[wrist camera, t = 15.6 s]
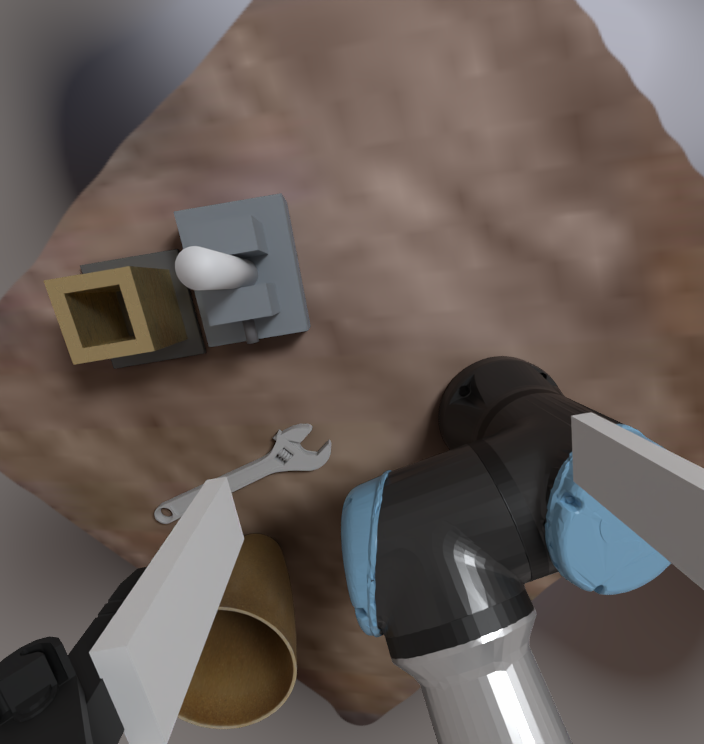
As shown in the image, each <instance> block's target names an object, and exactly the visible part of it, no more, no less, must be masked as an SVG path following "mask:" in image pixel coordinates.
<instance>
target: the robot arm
mask: <svg viewBox="0 0 704 744" xmlns="http://www.w3.org/2000/svg"><path fill="white" fill-rule="evenodd" d="M438 420H439V428H440V432H441V435H442V437H443V439H444V441H445V443H446V445H447V446H448V448H449V449H450V450H449V451H446V452H444V453H441V454H438V455H435V456H433V457H430V458H427V459H425V460H422V461H419V462H416V463H414V464H411V465H408V466H405V467H403V468H400V469H397V470H394V471H391V470H388V471H385V472H384V473H383V474H382V475H381V476H379V477H377V478H374V479H372V480H370V481H367V482H365V483H363V484H360V485H358V486H356V487H355V488H353V489H352V490H351V491H350V492H349V494H348V495H347V497H346V499H345V502H344V505H343V510H342V517H341V542H342V554H343V562H344V569H345V575H346V581H347V586H348V591H349V595H350V599H351V602H352V605H353V606H354V607H355V613H356V618H357V620H358V623H359V625H360V627H361V629H362V630H363V631H364V632H365V633H366V634H367V635H372V636H375V637H380V636H382V635H383V634H384V636H385V638H386V642H387V645H388V649H389V652H390V656H391V659H392V662H393V663H394V664H395V665H396V666H398V667H399V668H401V669H402V670H404V671H405V672H407V673H408V674H410V675H411V676H413V677H414V678H415V679H416V680H417V682H418V683H419V684H420V686H421V689H422V693H423V696H424V699H425V702H426V706H427V709H428V712H429V716H430V719H431V722H432V726H433V729H434V732H435V735H436V739H437V742H438V744H573V743H572V741H571V739H570V737H569V734H568V732H567V730H566V727H565V725H564V723H563V721H562V719H561V716H560V714H559V712H558V710H557V708H556V705H555V703H554V701H553V698H552V696H551V694H550V692H549V689H548V687H547V685H546V683H545V680H544V678H543V676H542V674H541V671H540V669H539V667H538V665H537V663H536V660H535V658H534V656H533V654H532V651H531V649H530V647H529V637H530V634H531V630H532V627H533V624H534V620H535V617H536V611H535V609H534V606H533V604H532V602H531V600H530V598H529V596H528V594H527V591H526V589H525V586H524V584H525V583H527V582H531V581H533V580H536V579H539V578H542V577H545V576H548V575H551V574H553V573H556V572H559V573H560V574H561V576H563V577H565V579H566V580H569V581H570V582H571V583H573V584H575V585H576V586H578V587H580V588H581V589H583V590H586V591H593V590H594V591H595V592H597V593H598V594H604V595H612V594H619V593H624V592H628V591H631V590H634V589H636V588H638V587H641V586H643V585H644V584H646V583H648V582H650V581H651V580H652V579H654V578H655V577H656V576H658V575H659V574H660V573H661V572H663V571H664V570H665V569H666V568H667V567H668V566H669V565H670V564H671V563H672V564H673V565H675V566H676V567H677V568H678V569H679V570H680V571H682V572H683V573H684V574H685V575H686V576H688V577H689V578H690V579H691V580H692V581H694V582H695V583H696V584H697V585H698V586H700V587H701V588H702V589H703V590H704V468H702V467H700V466H698V465H696V464H694V463H692V462H690V461H688V460H686V459H684V458H682V457H680V456H678V455H676V454H674V453H672V452H670V451H668V450H666V449H665V448H663V447H662V446H660V445H658V444H656V443H655V442H653V441H651V440H650V439H648V438H646V437H645V436H644V435H643V434H642V433H641V432H640V431H638V430H637V429H634V428H632V427H631V426H627V425H625V424H622V423H620V422H618V421H616V420H614V419H612V418H609V417H607V416H605V415H603V414H601V413H599V412H597V411H594V410H592V409H590V408H588V407H586V406H584V405H582V404H579V403H577V402H575V401H573V400H571V399H569V398H567V397H565V396H564V395H563V393H562V392H561V391H560V389H559V388H558V386H557V385H556V383H555V382H554V381H553V379H552V378H551V377H550V376H549V375H548V374H547V373H546V372H544V371H543V370H542V369H540V368H539V367H537V366H535V365H533V364H531V363H529V362H526V361H524V360H521V359H518V358H514V357H507V356H498V357H491V358H486V359H483V360H480V361H478V362H475V363H473V364H472V365H470V366H468V367H467V368H465V369H464V370H462V371H461V372H460V373H459V374H458V375H457V376H456V377H455V378H454V379H453V380H452V381H451V383H450V384H449V386H448V387H447V389H446V390H445V392H444V395H443V397H442V400H441V403H440V407H439V415H438ZM243 541H244V536H243V533H242V529H241V525H240V522H239V518H238V515H237V511H236V508H235V504H234V501H233V497H232V494H231V490H230V487H229V483H228V480H227V477H221V478H216V479H210V480H206V482H205V483H204V485H203V486H202V488H201V489H200V491H199V492H198V494H197V495H196V496H195V498H194V499H193V501H192V502H191V504H190V505H189V507H188V508H187V510H186V511H185V513H184V514H183V516H182V517H181V518H180V520H179V521H178V523H177V524H176V526H175V527H174V529H173V530H172V532H171V533H170V535H169V536H168V537H167V539H166V540H165V542H164V543H163V545H162V546H161V548H160V549H159V551H158V552H157V554H156V555H155V556H154V558H153V559H152V561H151V562H150V564H149V565H148V567H144V568H138V569H137V570H136V571H134V572H133V573H132V574H131V575H130V576H129V577H128V578H127V579H126V580H124V581H123V582H122V583H121V584H120V585H119V587H118V588H117V590H116V591H115V592H114V593H113V595H112V596H111V598H110V599H109V601H108V603H107V604H105V606H104V607H103V608H102V610H101V611H100V612H99V614H98V618H95V619H94V621H93V622H92V623H91V625H90V626H89V628H88V629H87V630H86V631H85V633H84V634H83V636H82V637H81V638H80V640H79V641H78V642H77V644H76V645H75V646H74V648H73V649H72V651H71V652H70V653H69V655H67V653H66V651H65V648H64V646H63V644H62V642H61V641H60V639H59V638H56V637H46V638H42V639H39V640H35V641H33V642H31V643H29V644H27V645H25V646H23V647H21V648H19V649H18V650H16V651H15V652H13V653H12V654H10V655H9V656H8V657H6V658H5V659H3V660H2V661H1V662H0V744H118V742H119V740H120V738H121V736H122V734H123V732H124V734H125V736H126V738H127V741H128V743H129V744H167V743H168V740H169V738H170V735H171V732H172V730H173V727H174V724H175V722H176V719H177V716H178V714H179V711H180V708H181V706H182V703H183V701H184V698H185V695H186V693H187V690H188V687H189V685H190V682H191V679H192V677H193V674H194V671H195V669H196V666H197V663H198V661H199V658H200V655H201V653H202V650H203V647H204V645H205V642H206V639H207V637H208V634H209V631H210V629H211V626H212V623H213V621H214V618H215V615H216V613H217V610H218V607H219V605H220V602H221V599H222V597H223V594H224V591H225V589H226V586H227V583H228V581H229V578H230V575H231V573H232V570H233V567H234V565H235V562H236V559H237V557H238V554H239V552H240V549H241V546H242V544H243Z"/></svg>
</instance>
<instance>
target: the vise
mask: <svg viewBox="0 0 704 744" xmlns="http://www.w3.org/2000/svg"><path fill="white" fill-rule="evenodd" d="M174 215H175V219H176V223H177V227H178V231H179V234H180V238H181V242H182V246H183V250H182V251H181V252H180V253H179V254H178V256H177V258H176V261H175V271H176V274H177V277H178V278H179V280H180V281H181V282H182V283H183V284H184V285H185V286H186V287H188V288H190V289H193V290H194V292H195V296H196V299H197V303H198V307H199V311H200V315H201V319H202V322H203V326H204V330H205V334H206V338H207V341H208V345H209V347H214V346H220V345H226V344H232V343H238V342H243V341H247V344H252V343H256V342H259V339H261V338H267V337H273V336H279V335H285V334H291V333H297V332H303V331H308V330H309V328H310V327H311V326H310V321H309V315H308V310H307V305H306V300H305V294H304V289H303V284H302V279H301V274H300V268H299V263H298V258H297V253H296V247H295V242H294V237H293V232H292V226H291V221H290V216H289V211H288V206H287V202H286V200H285V198H284V197H283V195H282V194H275V195H269V196H263V197H257V198H251V199H245V200H240V201H234V202H228V203H222V204H216V205H210V206H204V207H198V208H192V209H187V210H181V211H175V212H174Z"/></svg>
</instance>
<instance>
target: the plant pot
mask: <svg viewBox="0 0 704 744" xmlns="http://www.w3.org/2000/svg"><path fill="white" fill-rule="evenodd" d="M296 675H297V649H296V626H295V614H294V604H293V596H292V590H291V584H290V579H289V574H288V570H287V566H286V562H285V559H284V556H283V553H282V550H281V548H280V546H279V545H278V543H277V542H276V541H275V540H273V539H272V538H270V537H268V536H266V535H263V534H248V535H245V536H244V541H243V544H242V546H241V549H240V552H239V554H238V557H237V559H236V562H235V565H234V567H233V570H232V573H231V575H230V578H229V581H228V583H227V586H226V589H225V591H224V594H223V597H222V599H221V602H220V605H219V607H218V610H217V613H216V615H215V618H214V621H213V623H212V626H211V629H210V631H209V634H208V637H207V639H206V642H205V645H204V647H203V650H202V653H201V655H200V658H199V661H198V663H197V666H196V669H195V671H194V674H193V677H192V679H191V682H190V685H189V687H188V690H187V693H186V695H185V698H184V701H183V703H182V706H181V708H180V711H179V714H178V716H177V717H178V718H180V719H182V720H184V721H186V722H189V723H191V724H194V725H197V726H201V727H206V728H213V729H233V728H240V727H244V726H248V725H251V724H254V723H257V722H259V721H261V720H263V719H265V718H267V717H269V716H270V715H272V714H273V713H274V712H276V711H277V710H278V709H279V708H280V707H281V706H282V705H283V704H284V703H285V702H286V700H287V699H288V697H289V696H290V694H291V692H292V690H293V688H294V684H295V681H296Z"/></svg>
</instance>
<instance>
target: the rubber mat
mask: <svg viewBox="0 0 704 744" xmlns="http://www.w3.org/2000/svg"><path fill="white" fill-rule="evenodd" d="M179 253H180V251H179V250H178V249H175V250H169V251H163V252H157V253H151V254H145V255H139V256H134V257H128V258H122V259H116V260H110V261H104V262H98V263H92V264H86V265H80V267H81V270H82V273H83V274H86V273H92V272H98V271H104V270H110V269H115V268H121V267H127V266H134V267H145V268H157V269H168V270H169V271H170V275H171V279H172V282H173V286H174V290H175V293H176V297H177V301H178V304H179V308H180V312H181V315H182V319H183V323H184V326H185V330H186V334H187V337H188V339H186V340H184V341H181V342H178V343H175V344H173V345H170V346H167V347H164V348H162V349H159V350H156V351H152V352H146V353H140V354H134V355H128V356H122V357H116V358H111V361H112V364H113V367H114V369H115V368H121V367H127V366H133V365H139V364H145V363H151V362H157V361H163V360H169V359H175V358H180V357H186V356H192V355H198V354H204V353H206V350H205V346H204V342H203V338H202V334H201V331H200V327H199V323H198V319H197V315H196V312H195V308H194V304H193V300H192V297H191V293H190V289H189V288H188V287H186V286H185V285H184V284H183V283H182V282H181V281H180V280H179V278H178V277H177V274H176V271H175V261H176V258H177V256H178V254H179ZM116 295H117V299H118V302H119V305H120V308H121V311H122V315H123V318H124V321H125V324H126V327H127V331H128V334H129V337H130V336H135V334H134V331H133V327H132V324H131V321H130V318H129V314H128V311H127V308H126V305H125V302H124V298H123V295H122V292H121V291H117V292H116Z"/></svg>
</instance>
